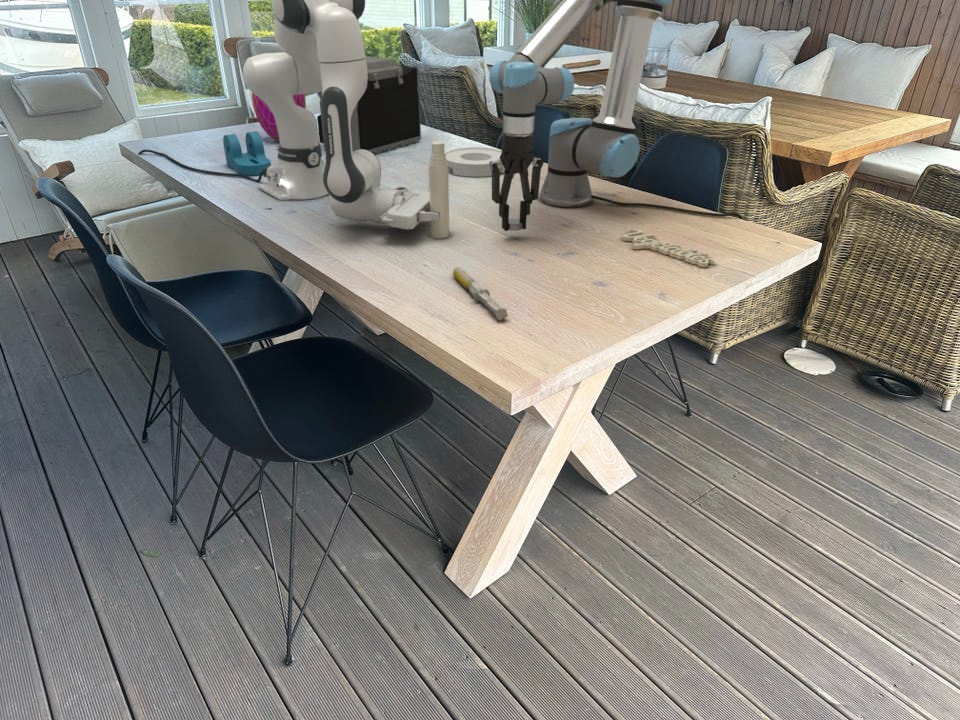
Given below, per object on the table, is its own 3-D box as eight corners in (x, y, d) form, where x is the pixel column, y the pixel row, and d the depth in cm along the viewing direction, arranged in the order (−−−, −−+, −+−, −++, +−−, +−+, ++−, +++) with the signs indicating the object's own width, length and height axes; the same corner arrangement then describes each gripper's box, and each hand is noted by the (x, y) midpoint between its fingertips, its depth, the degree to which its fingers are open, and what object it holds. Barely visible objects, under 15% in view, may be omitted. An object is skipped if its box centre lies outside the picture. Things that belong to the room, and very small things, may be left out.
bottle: (427, 234, 177) (424, 141, 166) (442, 230, 180) (441, 139, 168) (436, 239, 174) (434, 145, 162) (452, 236, 176) (451, 143, 165)
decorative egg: (293, 132, 276) (283, 50, 261) (319, 140, 264) (310, 56, 249) (249, 139, 265) (236, 54, 250) (273, 148, 253) (261, 60, 238)
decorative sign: (608, 236, 174) (633, 227, 180) (608, 240, 175) (632, 231, 180) (698, 267, 157) (722, 256, 163) (698, 271, 158) (721, 260, 163)
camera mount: (227, 164, 233) (221, 132, 227) (257, 160, 238) (252, 129, 233) (244, 176, 220) (239, 143, 215) (276, 172, 225) (271, 139, 220)
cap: (524, 230, 173) (524, 223, 172) (508, 231, 172) (508, 224, 171) (519, 224, 176) (519, 218, 175) (503, 225, 175) (503, 219, 174)
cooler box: (383, 133, 276) (378, 52, 261) (425, 141, 265) (422, 56, 250) (314, 150, 251) (304, 61, 235) (358, 160, 240) (350, 67, 224)
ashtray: (444, 158, 243) (444, 146, 241) (509, 159, 243) (510, 147, 241) (439, 176, 224) (438, 163, 222) (510, 177, 223) (510, 165, 221)
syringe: (449, 274, 155) (449, 263, 153) (465, 272, 156) (464, 260, 154) (490, 323, 135) (491, 310, 133) (508, 319, 136) (508, 307, 134)
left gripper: (375, 207, 166) (429, 213, 163) (404, 184, 183) (453, 188, 180) (377, 232, 169) (430, 238, 167) (405, 207, 187) (454, 212, 184)
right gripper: (544, 128, 168) (539, 220, 180) (478, 132, 163) (477, 226, 175) (557, 134, 162) (550, 229, 173) (488, 139, 157) (486, 236, 169)
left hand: (442, 212), depth 174 cm, fingers closed on bottle, 5 cm apart
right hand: (513, 228), depth 174 cm, fingers closed on cap, 4 cm apart
